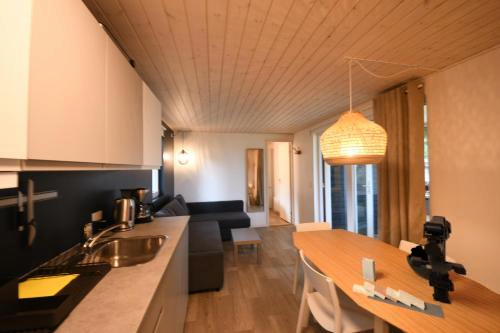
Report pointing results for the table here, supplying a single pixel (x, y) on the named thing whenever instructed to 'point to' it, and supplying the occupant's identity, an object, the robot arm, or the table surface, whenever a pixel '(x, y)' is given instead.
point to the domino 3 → (383, 292)
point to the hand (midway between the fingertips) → (437, 283)
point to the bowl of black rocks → (420, 252)
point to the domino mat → (429, 308)
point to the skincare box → (368, 269)
